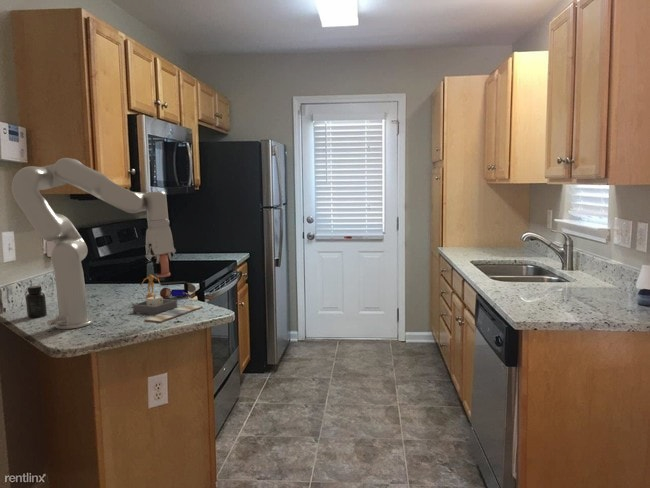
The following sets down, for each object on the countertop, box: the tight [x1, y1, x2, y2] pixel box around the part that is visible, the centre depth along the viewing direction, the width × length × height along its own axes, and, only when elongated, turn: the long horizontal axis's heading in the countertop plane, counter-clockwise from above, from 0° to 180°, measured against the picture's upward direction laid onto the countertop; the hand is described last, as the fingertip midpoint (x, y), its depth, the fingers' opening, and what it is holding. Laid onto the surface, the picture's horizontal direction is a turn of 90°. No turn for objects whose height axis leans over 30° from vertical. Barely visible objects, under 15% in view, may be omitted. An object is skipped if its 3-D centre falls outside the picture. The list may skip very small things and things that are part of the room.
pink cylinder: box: [155, 253, 171, 278], centre depth 198 cm, size 5×5×11 cm
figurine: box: [140, 274, 161, 299], centre depth 229 cm, size 8×6×12 cm
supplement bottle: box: [25, 285, 48, 319], centre depth 210 cm, size 7×7×12 cm
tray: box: [132, 298, 178, 315], centre depth 214 cm, size 12×12×3 cm
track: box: [143, 304, 204, 324], centre depth 205 cm, size 24×8×1 cm, turn 154°
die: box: [145, 295, 164, 306], centre depth 213 cm, size 5×5×5 cm
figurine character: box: [159, 280, 197, 299], centre depth 236 cm, size 7×8×15 cm
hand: (162, 271), depth 198 cm, fingers closed on pink cylinder, 4 cm apart
